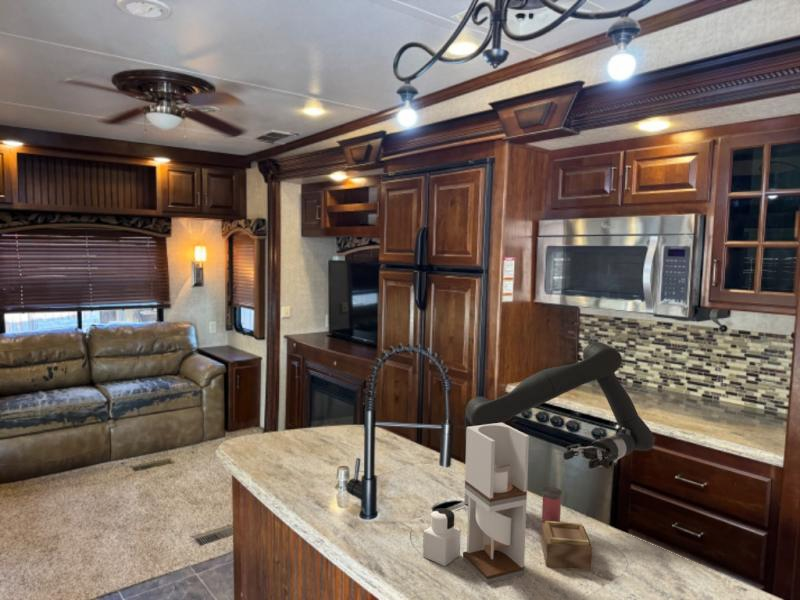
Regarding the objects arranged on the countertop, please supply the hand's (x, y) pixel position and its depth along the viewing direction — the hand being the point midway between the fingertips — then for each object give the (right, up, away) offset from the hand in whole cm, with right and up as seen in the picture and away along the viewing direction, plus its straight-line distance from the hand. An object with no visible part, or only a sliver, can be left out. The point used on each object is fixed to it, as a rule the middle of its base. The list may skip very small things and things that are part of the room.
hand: (577, 460), depth 163 cm
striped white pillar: (-29, -20, -24) cm, 42 cm away
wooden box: (-9, -20, -18) cm, 28 cm away
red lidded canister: (-9, -19, -5) cm, 22 cm away
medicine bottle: (-41, -20, -19) cm, 50 cm away
